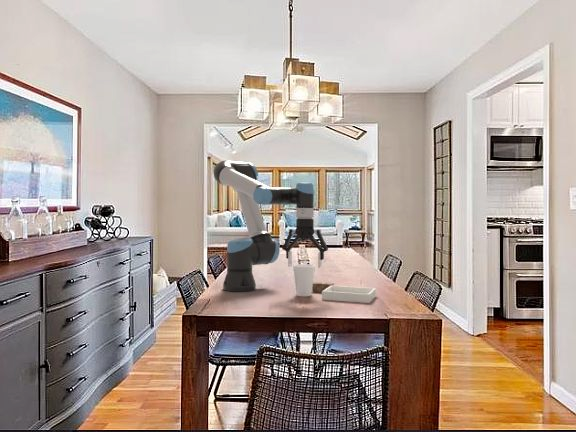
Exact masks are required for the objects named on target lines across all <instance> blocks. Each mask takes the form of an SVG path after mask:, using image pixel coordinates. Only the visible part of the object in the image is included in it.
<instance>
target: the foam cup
mask: <svg viewBox="0 0 576 432" xmlns="http://www.w3.org/2000/svg"><path fill="white" fill-rule="evenodd" d="M292 265H293V264H292ZM292 267H293V275H294V283H295V285H294V286H295V291H296V293H295V294H296V296H298V297H310V296H312V294H313V292H312V286H313V282H314V277H315V272H316V265H315V264H308V263H301V264H300V263H296V264H294V265H293V266H292Z"/></svg>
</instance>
